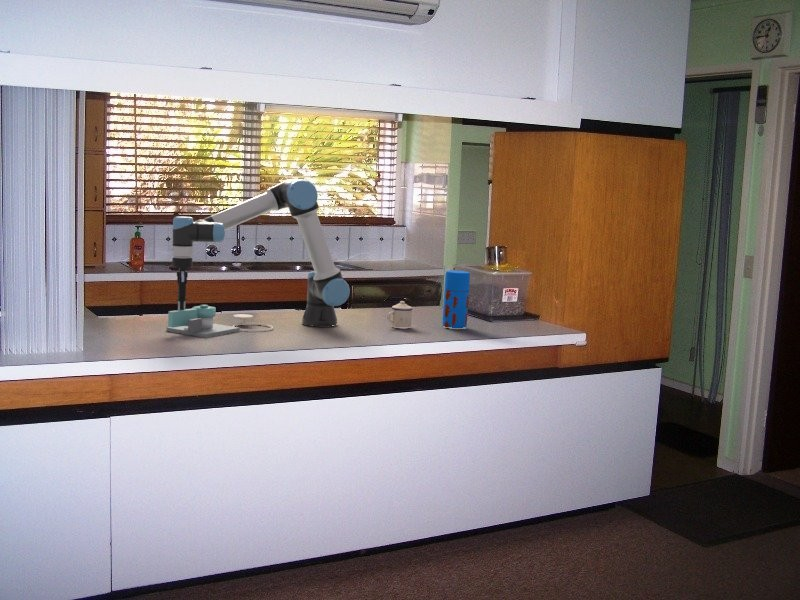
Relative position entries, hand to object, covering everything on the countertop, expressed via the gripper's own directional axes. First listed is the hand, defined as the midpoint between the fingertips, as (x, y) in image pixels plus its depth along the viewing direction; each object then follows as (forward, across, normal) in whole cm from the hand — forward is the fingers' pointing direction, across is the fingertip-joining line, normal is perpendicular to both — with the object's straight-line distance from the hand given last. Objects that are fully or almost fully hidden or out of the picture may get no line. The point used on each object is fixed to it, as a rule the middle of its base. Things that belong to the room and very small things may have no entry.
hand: (181, 317), depth 333 cm
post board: (+6, -3, +8) cm, 10 cm away
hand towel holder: (+7, -12, +28) cm, 32 cm away
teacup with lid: (+7, -14, +92) cm, 93 cm away
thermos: (+7, -14, +118) cm, 119 cm away
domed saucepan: (+3, 0, +4) cm, 5 cm away
